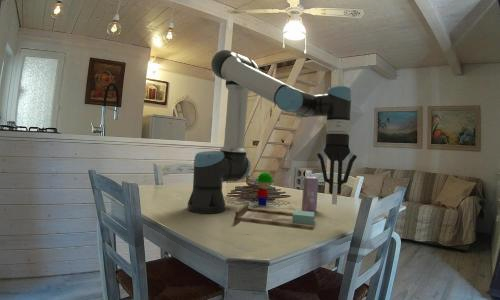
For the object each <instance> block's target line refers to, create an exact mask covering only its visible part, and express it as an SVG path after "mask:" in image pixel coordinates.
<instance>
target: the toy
mask: <svg viewBox="0 0 500 300" xmlns="http://www.w3.org/2000/svg"><path fill="white" fill-rule="evenodd" d="M256 182H257V184H258V187H259V188H258V190H257V193H256V196H255V198H256V199H258V206H265V207H266V206H267V199H270V197H269V196H268V195H269V194H268V189H269V188H270V186H271V185H272V183H274V182H275V179H273V177H272V175H271V173H270V172H269V173H268V172H265V171H264V172H262V173H259V175H258V177H257V178H256Z"/></svg>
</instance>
